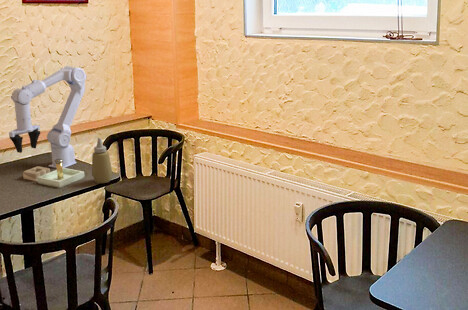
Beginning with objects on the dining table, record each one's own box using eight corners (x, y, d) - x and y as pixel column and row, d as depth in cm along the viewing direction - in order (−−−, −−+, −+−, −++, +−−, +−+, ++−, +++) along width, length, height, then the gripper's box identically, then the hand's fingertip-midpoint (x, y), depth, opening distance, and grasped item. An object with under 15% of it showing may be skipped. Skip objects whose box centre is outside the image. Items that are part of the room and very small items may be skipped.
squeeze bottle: (105, 185, 220) (102, 142, 214) (88, 183, 222) (84, 140, 217) (116, 179, 227) (113, 136, 222) (99, 177, 230) (96, 135, 224)
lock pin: (60, 177, 228) (58, 158, 226) (66, 178, 227) (64, 159, 224) (54, 179, 225) (52, 160, 223) (60, 180, 224) (58, 161, 222)
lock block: (38, 173, 235) (37, 166, 234) (50, 175, 232) (49, 168, 231) (23, 178, 228) (22, 171, 228) (36, 181, 225) (35, 174, 224)
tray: (62, 173, 235) (62, 167, 234) (84, 177, 230) (84, 171, 229) (37, 183, 223) (37, 177, 222) (60, 187, 218) (59, 181, 217)
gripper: (16, 122, 220) (19, 155, 223) (44, 115, 232) (46, 147, 236) (3, 120, 223) (7, 153, 226) (31, 114, 235) (34, 145, 239)
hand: (26, 150), depth 231 cm, fingers open, 7 cm apart
